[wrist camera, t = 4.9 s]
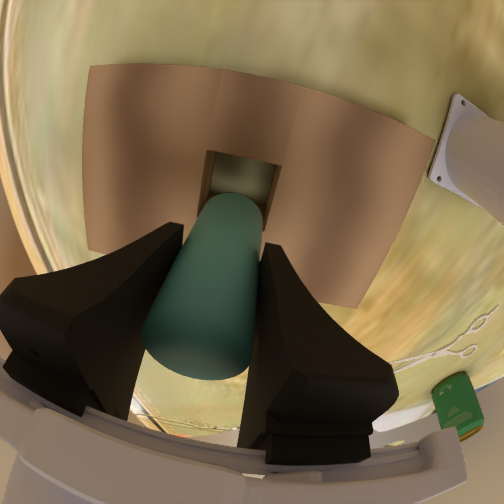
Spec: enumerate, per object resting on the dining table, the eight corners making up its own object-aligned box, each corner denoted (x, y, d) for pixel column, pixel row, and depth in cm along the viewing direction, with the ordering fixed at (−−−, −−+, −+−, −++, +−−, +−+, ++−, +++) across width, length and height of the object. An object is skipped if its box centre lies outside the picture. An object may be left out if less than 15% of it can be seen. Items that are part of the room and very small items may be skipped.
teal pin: (276, 220, 14) (276, 353, 7) (235, 259, 15) (209, 389, 8) (226, 179, 13) (174, 289, 6) (188, 223, 14) (125, 343, 7)
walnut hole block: (408, 129, 16) (435, 140, 13) (346, 278, 24) (356, 308, 21) (119, 67, 15) (89, 65, 12) (110, 226, 23) (88, 249, 19)
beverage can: (436, 398, 38) (450, 448, 28) (425, 389, 36) (441, 446, 26) (469, 377, 35) (487, 427, 25) (463, 365, 32) (484, 422, 22)
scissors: (482, 349, 30) (374, 391, 35) (480, 346, 31) (373, 387, 35) (499, 305, 25) (374, 354, 29) (496, 302, 25) (373, 349, 30)
